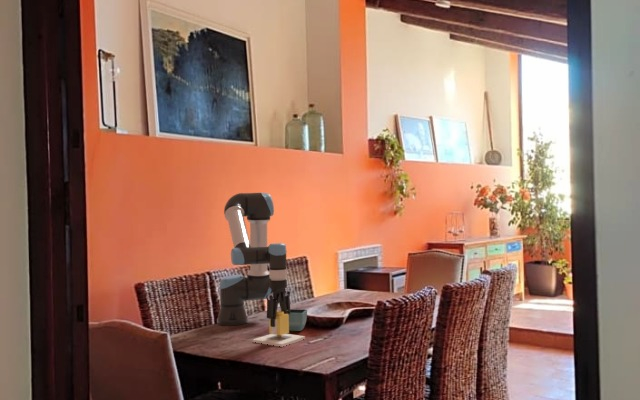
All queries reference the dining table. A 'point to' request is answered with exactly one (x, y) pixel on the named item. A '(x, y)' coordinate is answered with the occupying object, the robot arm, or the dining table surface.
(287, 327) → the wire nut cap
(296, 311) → the flower pot
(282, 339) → the post board
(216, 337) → the dining table surface
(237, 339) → the dining table surface
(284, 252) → the robot arm
